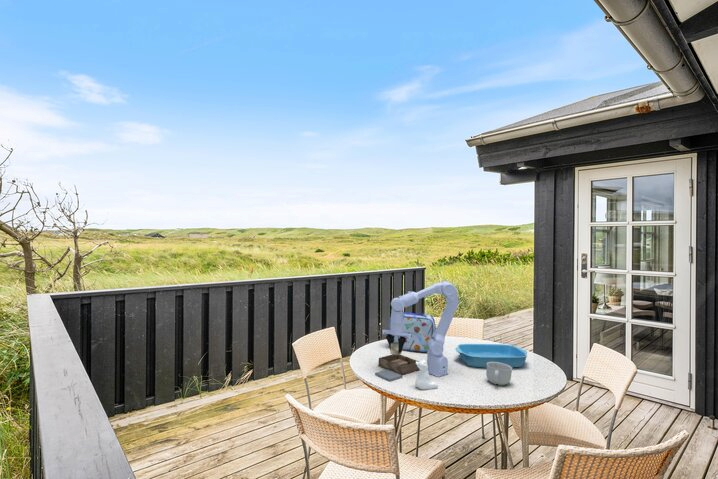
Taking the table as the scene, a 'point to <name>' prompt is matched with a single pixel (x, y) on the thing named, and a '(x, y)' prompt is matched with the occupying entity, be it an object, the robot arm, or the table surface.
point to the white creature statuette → (424, 377)
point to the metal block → (395, 348)
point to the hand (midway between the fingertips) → (395, 351)
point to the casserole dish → (491, 354)
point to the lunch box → (417, 331)
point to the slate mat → (388, 375)
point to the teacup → (498, 373)
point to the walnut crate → (398, 364)
